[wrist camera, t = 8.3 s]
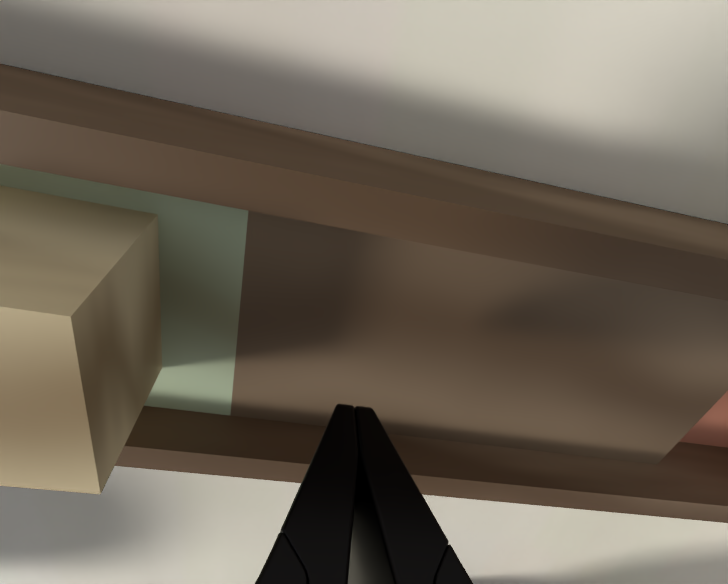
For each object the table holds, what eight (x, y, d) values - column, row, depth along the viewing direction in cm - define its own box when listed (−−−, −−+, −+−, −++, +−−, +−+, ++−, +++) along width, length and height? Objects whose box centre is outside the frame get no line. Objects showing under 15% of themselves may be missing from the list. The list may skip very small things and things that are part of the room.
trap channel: (759, 464, 20) (820, 531, 17) (-215, 347, 14) (-337, 423, 11) (975, 279, 14) (1107, 337, 12) (-465, -39, 8) (-798, -55, 6)
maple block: (162, 367, 13) (100, 494, 10) (-26, 342, 12) (-164, 471, 9) (157, 214, 10) (70, 316, 7) (-84, 170, 10) (-311, 261, 6)
